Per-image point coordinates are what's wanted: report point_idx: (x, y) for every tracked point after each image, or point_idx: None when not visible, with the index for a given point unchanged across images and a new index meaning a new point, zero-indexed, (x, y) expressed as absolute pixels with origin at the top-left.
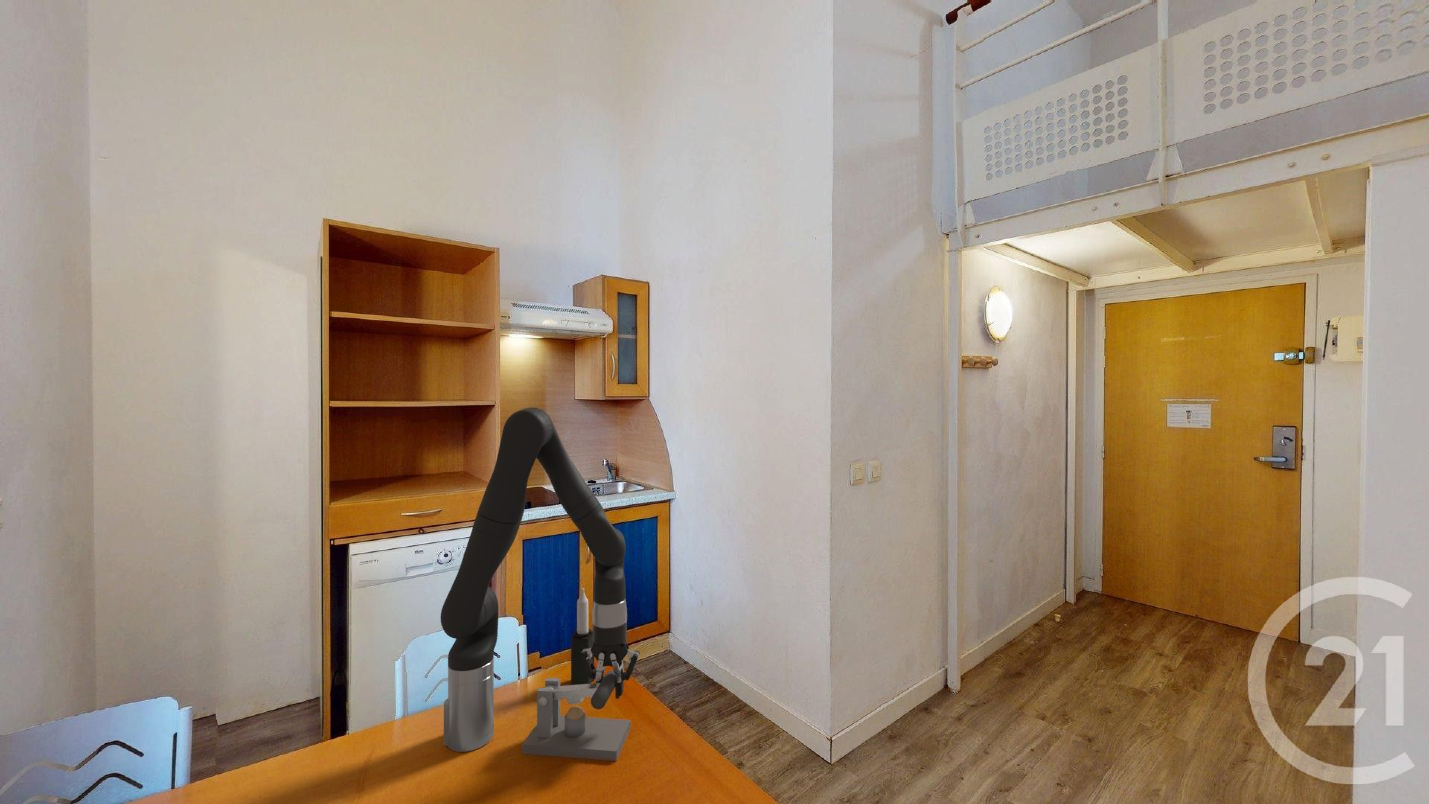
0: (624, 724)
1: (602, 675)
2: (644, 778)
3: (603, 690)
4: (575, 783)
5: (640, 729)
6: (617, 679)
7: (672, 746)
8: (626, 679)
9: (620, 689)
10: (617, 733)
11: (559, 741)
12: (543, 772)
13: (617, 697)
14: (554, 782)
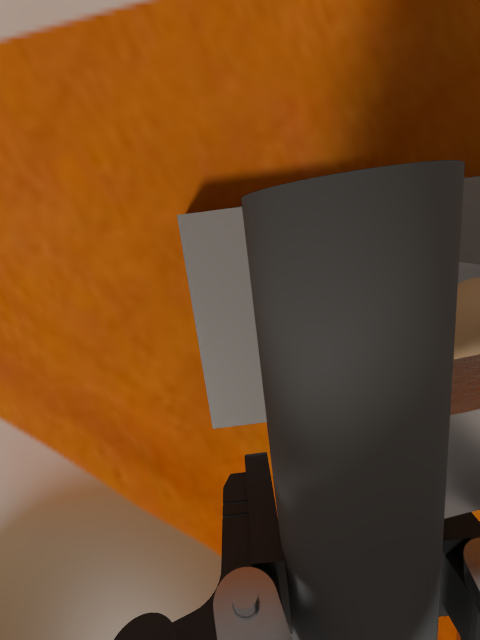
0: (225, 396)
1: (470, 630)
2: (20, 138)
3: (336, 316)
4: (290, 30)
5: (177, 414)
6: (262, 604)
7: (12, 352)
8: (149, 626)
9: (235, 515)
10: (228, 333)
11: (465, 220)
12: (456, 68)
13: (251, 457)
14: (384, 12)
